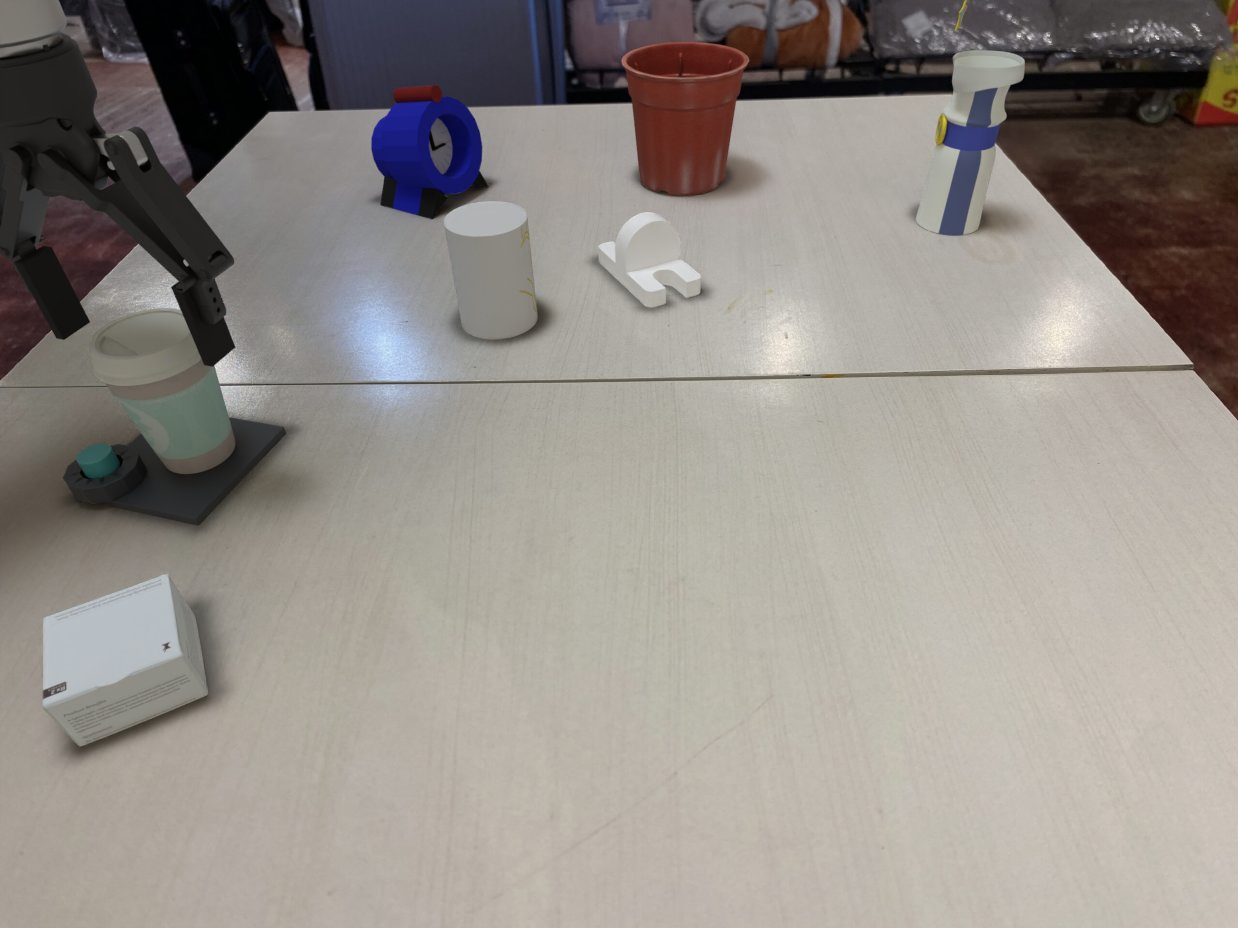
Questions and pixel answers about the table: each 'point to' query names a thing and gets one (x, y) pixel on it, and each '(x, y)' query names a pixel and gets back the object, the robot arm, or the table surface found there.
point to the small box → (121, 660)
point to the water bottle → (967, 140)
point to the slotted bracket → (649, 260)
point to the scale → (173, 477)
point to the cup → (492, 268)
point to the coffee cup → (165, 388)
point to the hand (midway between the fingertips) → (145, 343)
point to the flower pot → (683, 112)
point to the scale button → (98, 460)
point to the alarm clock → (426, 150)
